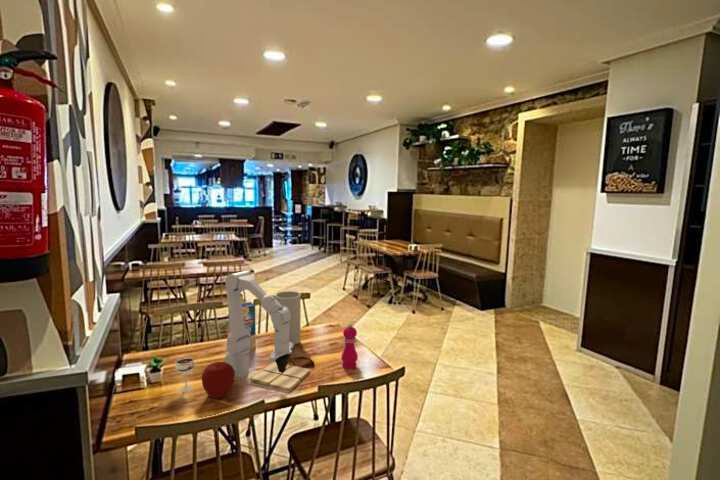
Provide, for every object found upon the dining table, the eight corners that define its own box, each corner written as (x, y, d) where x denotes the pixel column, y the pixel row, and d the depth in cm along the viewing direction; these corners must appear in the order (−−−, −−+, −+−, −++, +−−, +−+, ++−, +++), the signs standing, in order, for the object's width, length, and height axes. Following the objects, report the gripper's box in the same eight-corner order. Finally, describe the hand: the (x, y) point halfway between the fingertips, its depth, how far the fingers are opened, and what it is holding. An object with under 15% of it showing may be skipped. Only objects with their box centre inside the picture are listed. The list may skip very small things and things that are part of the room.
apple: (240, 396, 144) (240, 363, 143) (210, 408, 136) (209, 373, 135) (227, 384, 153) (226, 352, 151) (197, 394, 145) (196, 361, 143)
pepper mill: (355, 371, 166) (356, 327, 163) (339, 369, 168) (340, 325, 165) (358, 363, 173) (359, 321, 170) (343, 362, 175) (344, 320, 172)
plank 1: (249, 380, 154) (249, 378, 154) (261, 373, 162) (261, 370, 162) (268, 385, 151) (268, 382, 151) (279, 377, 159) (279, 374, 158)
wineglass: (190, 382, 154) (189, 354, 152) (198, 388, 149) (197, 359, 148) (173, 389, 148) (172, 360, 147) (181, 395, 144) (180, 365, 142)
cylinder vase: (270, 341, 195) (270, 294, 191) (289, 335, 204) (289, 289, 201) (286, 349, 187) (286, 299, 183) (305, 341, 196) (305, 294, 193)
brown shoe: (282, 354, 180) (289, 341, 181) (294, 359, 184) (301, 346, 185) (296, 371, 165) (304, 356, 166) (309, 375, 169) (316, 361, 170)
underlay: (245, 383, 154) (245, 383, 154) (272, 363, 171) (272, 362, 171) (288, 393, 147) (288, 392, 147) (310, 371, 165) (310, 371, 165)
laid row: (262, 372, 162) (262, 369, 162) (273, 364, 170) (273, 361, 170) (300, 381, 156) (300, 378, 156) (310, 371, 164) (310, 369, 164)
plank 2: (269, 386, 151) (269, 383, 151) (280, 377, 158) (280, 374, 158) (289, 391, 148) (289, 388, 148) (299, 381, 155) (299, 378, 155)
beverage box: (229, 348, 186) (228, 305, 183) (251, 343, 192) (250, 301, 189) (233, 353, 180) (232, 309, 177) (255, 348, 186) (255, 305, 183)
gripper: (280, 348, 140) (280, 382, 142) (300, 333, 154) (299, 365, 156) (264, 344, 143) (264, 378, 145) (284, 331, 156) (284, 362, 158)
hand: (281, 371), depth 150 cm, fingers closed
